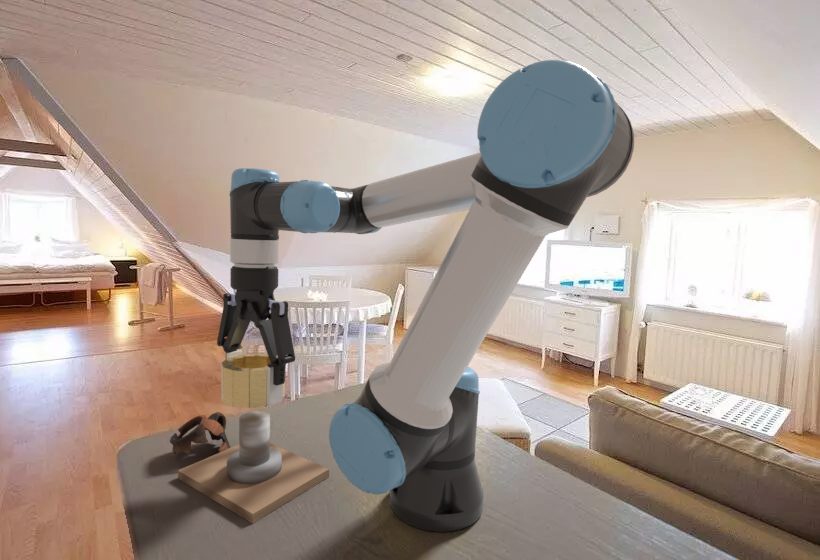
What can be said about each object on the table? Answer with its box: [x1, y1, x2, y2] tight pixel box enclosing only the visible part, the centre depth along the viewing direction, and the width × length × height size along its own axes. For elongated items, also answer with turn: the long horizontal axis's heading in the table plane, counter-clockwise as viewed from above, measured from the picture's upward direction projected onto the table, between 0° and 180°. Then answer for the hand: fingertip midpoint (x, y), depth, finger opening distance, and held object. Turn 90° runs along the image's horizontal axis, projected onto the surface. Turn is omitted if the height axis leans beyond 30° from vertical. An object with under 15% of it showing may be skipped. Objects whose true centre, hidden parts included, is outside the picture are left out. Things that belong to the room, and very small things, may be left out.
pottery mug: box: [169, 411, 232, 455], centre depth 88 cm, size 12×10×8 cm
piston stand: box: [177, 410, 330, 524], centre depth 78 cm, size 20×16×11 cm
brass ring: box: [220, 352, 286, 409], centre depth 77 cm, size 10×10×6 cm
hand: (253, 394), depth 78 cm, fingers closed on brass ring, 10 cm apart
